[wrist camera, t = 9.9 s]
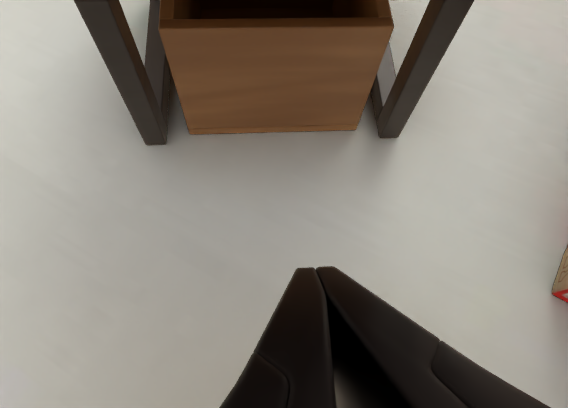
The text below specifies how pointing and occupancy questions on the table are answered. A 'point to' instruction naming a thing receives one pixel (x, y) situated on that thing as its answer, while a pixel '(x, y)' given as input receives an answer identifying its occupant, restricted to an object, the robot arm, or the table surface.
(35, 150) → the table surface
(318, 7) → the wood grain slab box
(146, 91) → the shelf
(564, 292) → the stack of blocks
